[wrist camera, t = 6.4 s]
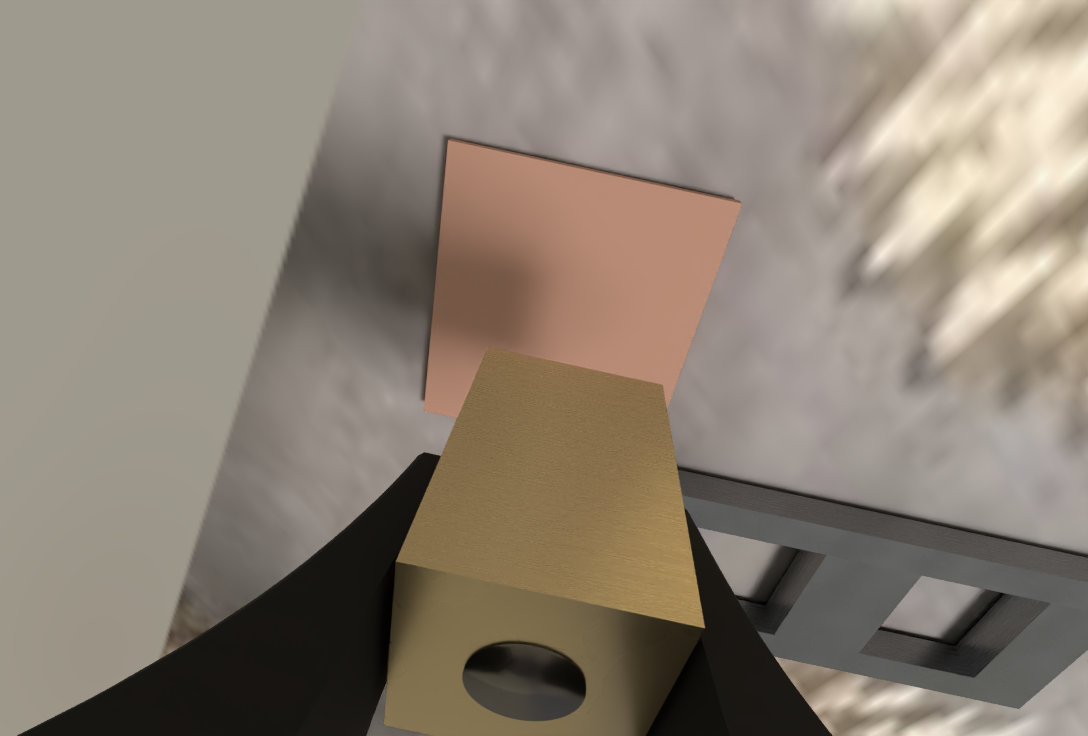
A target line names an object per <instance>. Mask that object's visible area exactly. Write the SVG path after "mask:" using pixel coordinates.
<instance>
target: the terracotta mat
mask: <svg viewBox="0 0 1088 736" xmlns="http://www.w3.org/2000/svg"><path fill="white" fill-rule="evenodd" d="M741 206H742V203H741V202H740V201H738V200H734V199H729V198H724V197H720V196H715V195H711V194H706V193H701V192H697V191H692V190H687V189H683V188H678V187H673V186H669V185H664V184H660V183H655V182H650V181H646V180H641V179H636V178H632V177H627V176H622V175H618V174H613V173H609V172H604V171H599V170H595V169H590V168H585V167H581V166H576V165H571V164H567V163H562V162H558V161H553V160H548V159H544V158H539V157H534V156H530V155H525V154H520V153H516V152H511V151H507V150H502V149H497V148H493V147H488V146H483V145H479V144H474V143H469V142H465V141H460V140H456V139H450V140H448V147H447V158H446V169H445V180H444V192H443V203H442V214H441V225H440V236H439V247H438V259H437V270H436V281H435V292H434V303H433V314H432V326H431V337H430V348H429V359H428V370H427V381H426V393H425V404H424V411H427V412H431V413H436V414H441V415H445V416H450V417H455V418H458V415H459V413H460V411H461V408H462V406H463V404H464V401H465V399H466V397H467V394H468V392H469V390H470V387H471V385H472V383H473V380H474V378H475V376H476V373H477V371H478V369H479V366H480V364H481V362H482V359H483V357H484V355H485V352H486V350H487V348H488V347H491V348H496V349H500V350H505V351H510V352H514V353H519V354H523V355H528V356H533V357H537V358H542V359H546V360H551V361H555V362H560V363H565V364H569V365H574V366H578V367H583V368H588V369H592V370H597V371H601V372H606V373H611V374H615V375H620V376H624V377H629V378H634V379H638V380H643V381H647V382H652V383H657V384H661V385H663V389H664V395H665V400H666V406H667V408H668V405H669V402H670V400H671V397H672V394H673V391H674V389H675V386H676V383H677V381H678V378H679V375H680V372H681V370H682V367H683V364H684V361H685V359H686V356H687V353H688V351H689V348H690V345H691V342H692V340H693V337H694V334H695V331H696V329H697V326H698V323H699V320H700V318H701V315H702V312H703V310H704V307H705V304H706V301H707V299H708V296H709V293H710V290H711V288H712V285H713V282H714V279H715V277H716V274H717V271H718V269H719V266H720V263H721V260H722V258H723V255H724V252H725V249H726V247H727V244H728V241H729V239H730V236H731V233H732V230H733V228H734V225H735V222H736V219H737V217H738V214H739V211H740V208H741Z"/></svg>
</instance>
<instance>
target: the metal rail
mask: <svg viewBox="0 0 1088 736" xmlns="http://www.w3.org/2000/svg"><path fill="white" fill-rule="evenodd" d="M678 475H679V481H680V487H681V493H682V499H683V504H684V509H687V511H688V512H689V514H690V515H691V517H692V519H693V521H694V523H695V525H696V526H697V527H699V528H704V529H708V530H713V531H718V532H722V533H727V534H731V535H736V536H741V537H745V538H750V539H755V540H759V541H764V542H769V543H773V544H778V545H783V546H787V547H792V548H797V549H800V550H799V552H798V553H797V555H796V557H795V558H794V560H793V561H792V563H791V565H790V566H789V568H788V570H787V571H786V573H785V574H784V576H783V578H782V579H781V581H780V583H779V584H778V586H777V587H776V589H775V591H774V592H773V594H772V596H771V597H770V599H769V600H768V602H767V604H766V605H761V604H757V603H752V602H747V601H743V600H738V601H739V602H740V604H741V606H742V607H743V609H744V611H745V612H746V614H747V616H748V617H749V619H750V621H751V622H752V624H753V625H754V627H755V628H756V630H757V632H758V633H759V635H760V636H761V638H762V639H763V641H764V642H765V644H766V645H767V647H768V648H769V650H770V651H771V653H772V654H773V656H775V657H780V658H784V659H789V660H794V661H798V662H803V663H808V664H812V665H817V666H822V667H826V668H831V669H835V670H840V671H845V672H849V673H854V674H859V675H863V676H868V677H873V678H877V679H882V680H887V681H891V682H896V683H901V684H905V685H910V686H915V687H919V688H924V689H929V690H933V691H938V692H943V693H947V694H952V695H957V696H961V697H966V698H971V699H975V700H980V701H984V702H989V703H994V704H998V705H1003V706H1008V707H1012V708H1017V709H1019V708H1021V707H1022V706H1023V705H1024V704H1025V703H1026V702H1027V701H1029V700H1030V699H1031V698H1032V697H1033V696H1034V695H1036V694H1037V693H1038V692H1039V691H1040V690H1041V689H1043V688H1044V687H1045V686H1046V685H1047V684H1048V683H1050V682H1051V681H1052V680H1053V679H1054V678H1055V677H1057V676H1058V675H1059V674H1060V673H1061V672H1062V671H1064V670H1065V669H1066V668H1067V667H1068V666H1069V665H1071V664H1072V663H1073V662H1074V661H1075V660H1076V659H1077V658H1079V657H1080V656H1081V655H1082V654H1083V653H1084V652H1086V651H1087V650H1088V558H1086V557H1082V556H1077V555H1072V554H1068V553H1063V552H1058V551H1054V550H1049V549H1044V548H1040V547H1035V546H1031V545H1026V544H1021V543H1017V542H1012V541H1007V540H1003V539H998V538H993V537H989V536H984V535H979V534H975V533H970V532H965V531H961V530H956V529H952V528H947V527H942V526H938V525H933V524H928V523H924V522H919V521H914V520H910V519H905V518H900V517H896V516H891V515H886V514H882V513H877V512H872V511H868V510H863V509H859V508H854V507H849V506H845V505H840V504H835V503H831V502H826V501H821V500H817V499H812V498H807V497H803V496H798V495H793V494H789V493H784V492H780V491H775V490H770V489H766V488H761V487H756V486H752V485H747V484H742V483H738V482H733V481H728V480H724V479H719V478H714V477H710V476H705V475H700V474H696V473H691V472H687V471H682V470H678ZM921 576H927V577H931V578H936V579H941V580H945V581H950V582H955V583H959V584H964V585H969V586H973V587H978V588H983V589H987V590H992V591H997V592H1001V593H1005V594H1004V595H1003V596H1002V597H1001V598H1000V599H999V600H998V601H997V603H996V604H995V605H994V606H993V607H992V608H991V609H990V610H989V611H988V612H987V613H986V614H985V615H984V616H983V617H982V618H981V619H980V620H979V621H978V623H977V624H976V625H975V626H974V627H973V628H972V629H971V630H970V631H969V632H968V633H967V634H966V635H965V636H964V637H963V638H962V639H961V640H960V641H959V643H958V644H957V645H956V646H952V645H947V644H943V643H938V642H934V641H929V640H924V639H920V638H915V637H910V636H906V635H901V634H896V633H892V632H887V631H882V630H878V629H879V627H880V626H881V625H882V624H883V623H884V621H885V620H886V619H887V618H888V616H889V615H890V614H891V613H892V611H893V610H894V609H895V608H896V606H897V605H898V604H899V603H900V601H901V600H902V599H903V598H904V597H905V595H906V594H907V593H908V592H909V590H910V589H911V588H912V587H913V585H914V584H915V583H916V582H917V580H918V579H919V578H920V577H921Z"/></svg>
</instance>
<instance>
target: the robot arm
mask: <svg viewBox="0 0 1088 736" xmlns="http://www.w3.org/2000/svg"><path fill="white" fill-rule="evenodd" d="M440 457H441V456H439V455H434V454H430V453H425V452H424V453H422V454H420V455H418V456H417V458H416V459H415V460H414V461H413V462H412V463H411V464H410V466H409V467H408V468H407V469H406V470H405V471H404V472H403V473H402V474H401V475H400V476H399V478H398V479H397V480H396V481H395V482H394V483H393V484H392V485H391V486H390V487H389V488H388V489H387V490H386V491H385V492H384V493H383V494H382V495H381V496H380V497H379V498H378V499H377V500H376V501H375V502H373V503H372V504H371V505H370V506H369V507H368V508H367V509H366V510H365V511H364V512H363V513H362V514H361V515H359V516H358V517H357V518H356V519H355V520H354V521H353V522H352V523H351V524H350V525H349V526H347V527H346V528H345V529H344V530H343V531H342V532H341V533H339V534H338V535H337V536H336V537H335V538H333V539H332V540H331V541H330V542H329V543H327V544H326V545H325V546H324V547H323V548H321V549H320V550H319V551H318V552H317V553H315V554H314V555H313V556H312V557H311V558H309V559H308V560H307V561H306V562H304V563H303V564H302V565H300V566H299V567H298V568H297V569H295V570H294V571H293V572H291V573H290V574H289V575H287V576H286V577H285V578H283V579H282V580H281V581H279V582H278V583H277V584H275V585H274V586H272V587H271V588H270V589H268V590H267V591H266V592H264V593H263V594H261V595H260V596H259V597H257V598H256V599H254V600H253V601H251V602H250V603H248V604H247V605H245V606H244V607H242V608H241V609H239V610H238V611H236V612H235V613H233V614H232V615H230V616H229V617H227V618H226V619H224V620H223V621H221V622H220V623H218V624H217V625H215V626H214V627H212V628H211V629H209V630H207V631H206V632H204V633H203V634H201V635H200V636H198V637H196V638H195V639H193V640H191V641H190V642H188V643H187V644H185V645H183V646H182V647H180V648H178V649H177V650H175V651H173V652H171V653H170V654H168V655H166V656H164V657H163V658H161V659H159V660H157V661H156V662H154V663H152V664H151V665H149V666H147V667H145V668H143V669H142V670H140V671H138V672H137V673H135V674H133V675H131V676H130V677H128V678H126V679H124V680H123V681H121V682H119V683H118V684H116V685H114V686H112V687H111V688H109V689H107V690H105V691H103V692H101V693H99V694H98V695H96V696H94V697H92V698H90V699H88V700H86V701H85V702H82V703H80V704H79V705H77V706H75V707H73V708H71V709H69V710H67V711H65V712H63V713H61V714H59V715H57V716H55V717H53V718H51V719H49V720H47V721H45V722H43V723H41V724H39V725H37V726H35V727H33V728H31V729H29V730H27V731H25V732H23V733H22V734H19V735H17V736H366V735H367V732H368V729H369V726H370V723H371V720H372V717H373V715H374V712H375V710H376V707H377V704H378V702H379V699H380V697H381V694H382V691H383V689H384V687H385V684H386V682H387V675H388V662H389V648H390V634H391V621H392V607H393V593H394V579H395V566H396V560H397V558H398V555H399V553H400V551H401V548H402V546H403V544H404V541H405V539H406V537H407V534H408V532H409V530H410V527H411V525H412V523H413V520H414V518H415V516H416V513H417V511H418V509H419V506H420V504H421V502H422V499H423V497H424V495H425V492H426V490H427V488H428V485H429V483H430V481H431V478H432V476H433V474H434V471H435V469H436V467H437V464H438V462H439V460H440ZM684 510H685V516H686V522H687V527H688V533H689V539H690V545H691V550H692V556H693V562H694V568H695V574H696V579H697V585H698V591H699V597H700V602H701V608H702V614H703V620H704V625H705V629H704V631H703V633H702V635H701V636H700V638H699V640H698V642H697V644H696V645H695V647H694V649H693V651H692V653H691V655H690V656H689V658H688V660H687V662H686V664H685V665H684V667H683V669H682V671H681V673H680V674H679V676H678V678H677V680H676V682H675V684H674V685H673V687H672V689H671V691H670V693H669V694H668V696H667V698H666V700H665V702H664V703H663V705H662V707H661V709H660V711H659V713H658V714H657V716H656V718H655V720H654V722H653V723H652V725H651V727H650V729H649V731H648V732H647V734H646V736H832V734H831V733H830V732H829V731H828V729H827V728H826V727H825V726H824V724H823V723H822V722H821V720H820V719H819V718H818V716H817V715H816V714H815V712H814V711H813V710H812V709H811V707H810V706H809V705H808V703H807V702H806V701H805V699H804V698H803V697H802V695H801V694H800V693H799V691H798V690H797V689H796V687H795V686H794V685H793V683H792V682H791V680H790V679H789V678H788V676H787V675H786V673H785V672H784V671H783V669H782V668H781V666H780V665H779V663H778V662H777V660H776V659H775V657H774V656H773V654H772V653H771V651H770V650H769V648H768V647H767V645H766V644H765V642H764V641H763V639H762V638H761V636H760V635H759V633H758V632H757V630H756V628H755V627H754V625H753V624H752V622H751V621H750V619H749V617H748V616H747V614H746V612H745V611H744V609H743V607H742V606H741V604H740V602H739V601H738V599H737V597H736V596H735V594H734V592H733V591H732V589H731V587H730V586H729V584H728V582H727V581H726V579H725V577H724V575H723V574H722V572H721V570H720V568H719V567H718V565H717V563H716V561H715V559H714V558H713V556H712V554H711V552H710V550H709V549H708V547H707V545H706V543H705V541H704V539H703V538H702V536H701V534H700V532H699V530H698V528H697V526H696V525H695V523H694V521H693V519H692V517H691V515H690V514H689V512H688V511H687V509H684Z"/></svg>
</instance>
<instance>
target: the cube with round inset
mask: <svg viewBox="0 0 1088 736" xmlns="http://www.w3.org/2000/svg"><path fill="white" fill-rule="evenodd" d="M704 629H705V625H704V620H703V614H702V608H701V602H700V597H699V591H698V585H697V579H696V574H695V568H694V562H693V556H692V550H691V545H690V539H689V533H688V527H687V522H686V516H685V510H684V504H683V499H682V493H681V487H680V481H679V475H678V470H677V464H676V458H675V452H674V447H673V441H672V435H671V429H670V424H669V418H668V412H667V406H666V400H665V395H664V389H663V385H661V384H657V383H652V382H647V381H643V380H638V379H634V378H629V377H624V376H620V375H615V374H611V373H606V372H601V371H597V370H592V369H588V368H583V367H578V366H574V365H569V364H565V363H560V362H555V361H551V360H546V359H542V358H537V357H533V356H528V355H523V354H519V353H514V352H510V351H505V350H500V349H496V348H491V347H488V348H487V350H486V352H485V355H484V357H483V359H482V362H481V364H480V366H479V369H478V371H477V373H476V376H475V378H474V380H473V383H472V385H471V387H470V390H469V392H468V394H467V397H466V399H465V401H464V404H463V406H462V408H461V411H460V413H459V415H458V418H457V420H456V422H455V425H454V427H453V429H452V432H451V434H450V436H449V439H448V441H447V443H446V446H445V448H444V450H443V453H442V455H441V457H440V460H439V462H438V464H437V467H436V469H435V471H434V474H433V476H432V478H431V481H430V483H429V485H428V488H427V490H426V492H425V495H424V497H423V499H422V502H421V504H420V506H419V509H418V511H417V513H416V516H415V518H414V520H413V523H412V525H411V527H410V530H409V532H408V534H407V537H406V539H405V541H404V544H403V546H402V548H401V551H400V553H399V555H398V558H397V560H396V566H395V579H394V593H393V607H392V621H391V634H390V648H389V662H388V675H387V689H386V703H385V717H384V725H385V726H390V727H395V728H399V729H404V730H408V731H413V732H418V733H422V734H427V735H432V736H646V734H647V732H648V731H649V729H650V727H651V725H652V723H653V722H654V720H655V718H656V716H657V714H658V713H659V711H660V709H661V707H662V705H663V703H664V702H665V700H666V698H667V696H668V694H669V693H670V691H671V689H672V687H673V685H674V684H675V682H676V680H677V678H678V676H679V674H680V673H681V671H682V669H683V667H684V665H685V664H686V662H687V660H688V658H689V656H690V655H691V653H692V651H693V649H694V647H695V645H696V644H697V642H698V640H699V638H700V636H701V635H702V633H703V631H704Z"/></svg>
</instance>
